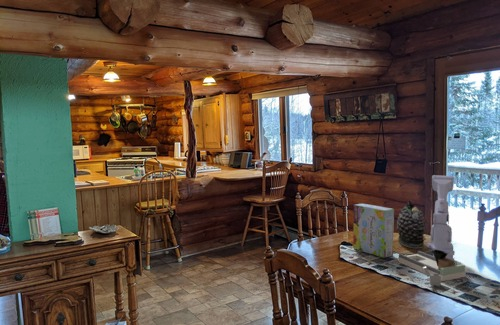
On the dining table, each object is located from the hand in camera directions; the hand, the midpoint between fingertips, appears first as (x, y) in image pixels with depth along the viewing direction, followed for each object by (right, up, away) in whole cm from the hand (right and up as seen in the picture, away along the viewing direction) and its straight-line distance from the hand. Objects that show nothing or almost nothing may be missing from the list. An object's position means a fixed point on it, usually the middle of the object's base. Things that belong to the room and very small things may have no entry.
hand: (439, 265), depth 188 cm
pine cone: (+4, 0, +45) cm, 46 cm away
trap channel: (-2, -3, +6) cm, 7 cm away
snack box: (-22, -1, +33) cm, 39 cm away
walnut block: (+1, -1, -4) cm, 4 cm away
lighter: (-10, -5, -13) cm, 17 cm away
